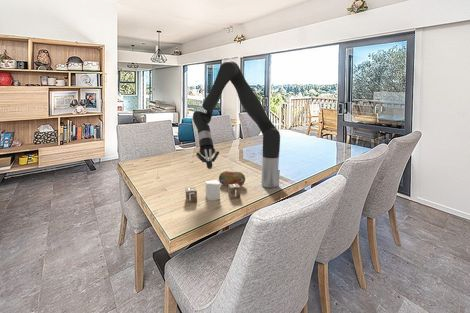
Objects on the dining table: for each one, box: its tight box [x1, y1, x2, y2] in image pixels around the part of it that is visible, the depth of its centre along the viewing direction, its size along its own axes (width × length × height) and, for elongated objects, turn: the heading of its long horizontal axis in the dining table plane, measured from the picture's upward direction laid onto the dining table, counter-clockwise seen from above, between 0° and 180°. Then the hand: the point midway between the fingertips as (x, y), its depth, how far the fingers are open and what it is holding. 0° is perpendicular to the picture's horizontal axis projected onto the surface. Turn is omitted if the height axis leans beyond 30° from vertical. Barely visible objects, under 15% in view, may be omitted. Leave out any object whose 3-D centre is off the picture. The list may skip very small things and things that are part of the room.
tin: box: [218, 170, 246, 187], centre depth 153 cm, size 15×3×8 cm, turn 76°
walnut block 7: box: [185, 186, 198, 204], centre depth 132 cm, size 5×5×6 cm
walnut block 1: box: [227, 184, 241, 200], centre depth 138 cm, size 5×5×6 cm
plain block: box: [205, 179, 221, 201], centre depth 136 cm, size 6×6×8 cm
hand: (210, 168), depth 140 cm, fingers closed
